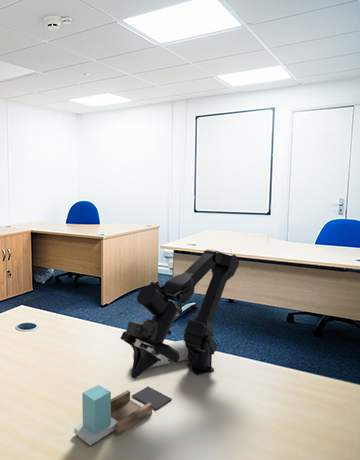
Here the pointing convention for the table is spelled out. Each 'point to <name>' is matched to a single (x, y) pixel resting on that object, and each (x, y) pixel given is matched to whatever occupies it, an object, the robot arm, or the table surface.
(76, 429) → the blue pillar on plinth
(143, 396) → the dark gray rectangular plate
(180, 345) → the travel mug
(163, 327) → the robot arm
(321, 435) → the table surface
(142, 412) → the track
